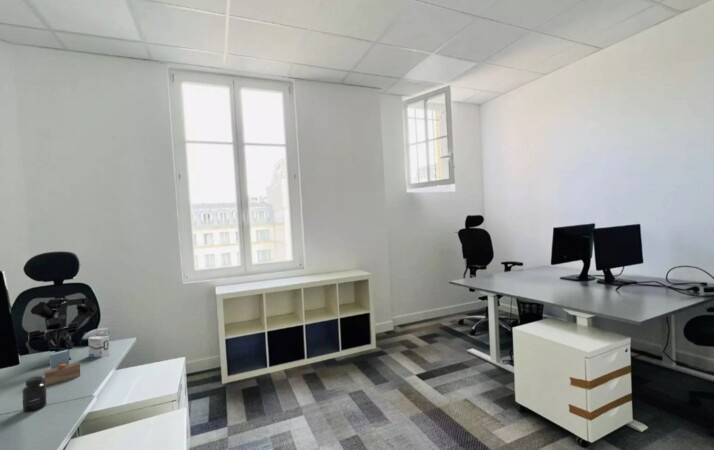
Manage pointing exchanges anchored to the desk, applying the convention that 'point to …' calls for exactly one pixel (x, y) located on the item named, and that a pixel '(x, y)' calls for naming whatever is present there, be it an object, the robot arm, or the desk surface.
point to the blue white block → (59, 358)
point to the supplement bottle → (34, 394)
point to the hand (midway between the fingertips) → (56, 345)
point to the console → (61, 373)
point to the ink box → (99, 344)
